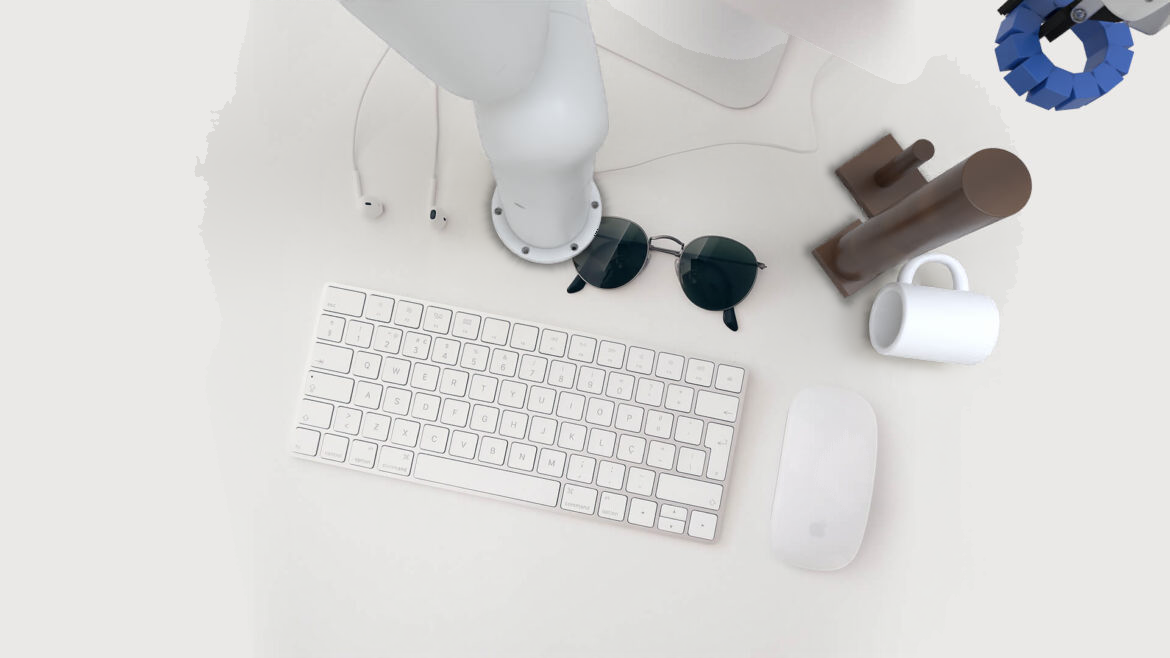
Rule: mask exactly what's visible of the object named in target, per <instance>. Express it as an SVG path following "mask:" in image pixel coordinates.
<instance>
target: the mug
mask: <svg viewBox="0 0 1170 658" xmlns="http://www.w3.org/2000/svg"><path fill="white" fill-rule="evenodd" d="M927 263H935V264H936V263H937V264H941V265H943V266H945V267H947V269H948V270H949V271H950V274H951V278H952V289H951V288H944V287H943V288H942V287H937V286H936V287H935V286H929V285H928V286H927V285H922V284H921V285H920V284H913V278H914V275H915V273H916V271H917V270H918V268H919V267H920V266H921V265H923V264H927ZM969 283H970V282H969V279H968V275H967V272H966V270H965V268H964V266H963V265H962V264H961V262H960V261H959V260H957V259H956V258H954V257H953V256H951V255H949V254H947V253H946V254H945V253H940V252H926V253H924V254H922V255H920V256H917V257H915V258H913V259H910V260H908V261H906V262H904V264H903V265H902V266H901V268H900V269H899V272H898V275H897V278H896V281H892V282H889V283H887V284H885V285H884V286H883V287H882V288H881V289H880V290H879V292H878V293H877V294H876V296H875V298H874V301H873V303H872V306H871V309H870V313H869V320H868V333H869V339H870V340H869V341H870V343H871V345H872V347H873V349H874V350H875V352H877V354H879V355H883V356H887V357H898V358H903V359H904V358H905V359H913V360H914V359H915V360H920V361H921V360H922V361H929V362H935V363H936V362H937V363H945V364H952V365H961V366H969V367H970V366H976V365H979V364H980V363H983V361H985V360H986V359H987V358H988V357H989V356H990V354H991V353H992V351H994V348H995V346H996V344H997V340H998V338H999V333H1000V313H999V310H998V307H997V305H996V303H995V301H994V300H993V299H992V298H991V297H990V296H989V295H987V294H985V293H982V292H974V291H971V290H970V284H969Z"/></svg>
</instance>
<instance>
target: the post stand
mask: <svg viewBox="0 0 1170 658" xmlns="http://www.w3.org/2000/svg"><path fill="white" fill-rule="evenodd" d="M935 152H936V147H935V145H934V144H933V142H932V141H931V140H928V139H927V138H920V139H917V140H915V141H914V142H913V143H912V144H910V145H909V146H908V147H906V148H905V149H903V148H902V146H901V145H900V144H899V142H898V141H897V140H896V138H894V136H893V135H892V133H888V134H886V135H885V136H883V137H882V138H881V139H879V140H878V141H876V142H875V143H873V144H872V145H870V146H869V147H868V148H866V149H865V150H862V152H860V153H859V154H856V156H855V157H853V158H851V159H850V160H849V161H847V162H845V163H844V164H842V165H841V166H840V167H838V168H837V169H836V170H835V171H834V174H835V175H836V176H837V177H838V178H839V180H840V181H841V183H842V184H843V185H844V187H845V188H846V189H847V190H848V192H849V193H850V195H851V196H852V197H853V198H854V200H855V201H856V202H857V204H858V205H859V207H861V209H862V211H863V212H864V213H865V214H866V216H867V217H868V219H870V218H872V217H873V216H875V215H877V214H878V213H880V212H881V211H883V210H885V209H886V208H888V207H889V206H891V205H893V204H894V203H896V202H897V201H899V200H901V199H902V198H904V197H905V196H907V195H909V194H910V193H912V192H913V191H915V190H917V189H918V188H920V187H921V186H923V185H925V184H926V183H928V182H929V181H928V180H927V179H926V177H925V176H924V175H923V174H922V172H921V171H920V169H918V168H920V167H921V166H923V165H924V164H925V163H927V162H928V161H930V160H931V159H933V157H934V156H935Z"/></svg>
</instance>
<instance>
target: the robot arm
mask: <svg viewBox="0 0 1170 658" xmlns="http://www.w3.org/2000/svg"><path fill="white" fill-rule="evenodd" d="M336 1H337V2H338V3H339V4H340V5H341V6H342V7H343V8H344V9H345V10H346V11H347V12H349V14H351V15H352V16H353V17H354V18H355V19H357V20H358V21H359V22H360V23H361V24H362V25H364V26H365V27H366V28H367V29H368V30H370V31H371V32H372V33H373V34H374V35H376V36H377V38H379V39H380V40H381V41H383V42H384V43H385V44H386V45H387V46H389V47H390V48H391V49H392V50H393V51H395V52H396V53H397V54H398V55H399V56H400V57H402V58H403V59H404V60H405V61H406V62H407V63H408V64H410V65H411V66H412V67H414V69H416V70H417V71H418V72H419V73H421V74H422V75H423V76H425V78H427V79H428V80H430V81H431V82H432V83H434V84H435V85H436V86H438V87H440V88H441V89H443V90H444V91H447V92H448V93H450V94H453V95H454V96H457V97H459V98H462V99H465V100H467V101H472V103H473V104H472V105H473V109H474V115H475V122H476V126H477V131H478V136H479V140H480V145H481V147H482V150H483V152H484V154H485V156H486V158H487V159H488V160H489V164H490V167H491V171H492V174H493V176H494V179H495V183H496V186H495V189H494V192H493V195H492V198H491V207H490V208H491V209H490V211H491V218H492V223H493V226H494V229H495V232H496V234H497V236H498V238H499V239H500V240H501V242H502V243H503V245H504V246H505V247H506V248H507V249H509V251H510V252H511V253H513V254H515V255H516V256H518V257H519V258H521V259H523V260H526V261H528V262H531V263H536V264H542V265H552V264H553V265H554V264H559V263H564V262H566V261H569V260H571V259H573V258H575V257H576V256H578V255H580V254H581V253H582V252H583V251H584V250H586V249H587V248H588V247H589V246H590V244H592V241H593V240H594V239H595V237H596V235H597V233H596V231H597V232H598V231H599V228H600V225H601V222H602V214H603V204H602V197H601V194H600V192H599V189H598V186H597V184H596V182H595V181H594V174H595V167H596V166H595V165H596V157H597V154H598V152H600V150H601V148H602V147H603V146H604V143H605V142H606V139H607V137H608V134H609V129H610V128H609V127H610V116H609V106H608V100H607V99H608V98H607V92H606V88H605V81H604V77H603V76H604V75H603V72H602V66H601V63H600V58H599V57H600V56H599V52H598V48H597V47H598V46H597V43H596V42H597V41H596V38H595V35H594V32H593V28H592V23H591V19H590V13H589V10H588V9H589V8H588V4H587V0H336ZM1022 1H1023V0H1006V1H1005V2H1004V3H1003V4H1002V5H1000V7H998V8H997V9H996V12H998V14H999V15H1000V16H1003V17H1005V16H1006V15H1007V14H1008V13H1009V12H1011V11H1012V10H1013V9H1014V8H1015V7H1016V6H1017V5H1018V4H1020V3H1021V2H1022ZM1086 20H1095V21H1104V22H1114V23H1121V22H1124V23H1126V26H1129V28H1130V29H1133V30H1135V31H1137V32H1139V33H1141V34H1144V35H1146V36H1154V35H1157V34H1158V33H1160V32H1161V31H1163V29H1165V28H1167V27H1168V26H1169V25H1170V0H1074V1H1072V2H1071V3H1070V4H1068V5H1067V6H1065V7H1064V8H1062V9H1061V10H1059V11H1058V12H1057V13H1056V14H1054V15H1053V16H1052V17H1051V18H1049V19H1048V20H1047V21H1046V22H1045V23H1042V24H1041V27H1040V30H1039V33H1038V36H1039V40H1040V41H1041V40H1042V39H1044V38H1045V39H1046V40H1047V41H1048V43H1053V42H1054V41H1055V40H1057V39H1059V37H1060V36H1062V35H1064V34H1065V33H1067V32H1068V31H1069V30H1071V29H1070V28H1072V27H1073V26H1074V25H1076V24H1077V23H1083V22H1084V21H1086ZM594 206H595V208H594ZM498 213H500V214H498ZM597 229H598V230H597ZM595 233H596V234H595ZM594 235H595V236H594ZM573 248H575V249H574V250H573ZM525 251H527V253H525Z"/></svg>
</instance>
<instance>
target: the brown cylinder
mask: <svg viewBox="0 0 1170 658" xmlns="http://www.w3.org/2000/svg"><path fill="white" fill-rule="evenodd" d="M927 182H928V183H926V184H925V185H923V186H921V187H920V188H918V189H917V190H915V191H913V192H912V193H910V194H909V195H907V196H905V197H904V198H902V199H901V200H899V201H897V202H896V203H894V204H893V205H891V206H889V207H888V208H886V209H885V210H883V211H881V212H880V213H878V214H877V215H875V216H873V217H872V218H868V219H867V220H865V221H864V222H862V220H861V219H860V218H857V220H855V221H853V222H852V223H850V224H849V225H848V226H846V227H845V228H843V229H842V230H841V231H839V232H838V233H836V234H835V235H833V236H832V237H830V238H829V239H827V240H826V241H825V242H823V243H822V244H820V245H819V246H818V247H816V248H815V249H813V250H812V251H811V254H812V256H813V257H814V258H815V260H816V261H817V262H818V264H819V265H820V267H821V268H822V269H823V271H824V272H825V273H826V275H827V276H828V278H829V279H830V280H831V281H832V283H833V284H834V286H835V287H836V288H837V290H838V291H839V292H840V294H841V295H842V296H843V297H844V298H845V299H846V298H848V297H849V298H850V297H851V296H852V295H854V294H855V293H856V292H858V291H860V290H861V289H862V288H864V287H866V285H868V284H869V283H870V282H872V281H873V280H875V279H876V278H877V277H880V275H882V274H883V273H884V272H885V271H886V272H887V270H889V269H892V268H895V267H896V266H899V265H901V264H903V263H906V262H907V261H909V260H910V259H913V258H915V257H917V256H920V255H922V254H927V253H930V252H931V251H934V250H936V249H938V248H940V247H943V246H945V245H947V244H949V243H951V242H952V243H953V242H954V241H956V240H958V239H961V238H964V237H965V236H967V235H970V234H972V233H975V232H977V231H979V230H981V229H984V228H987V227H988V226H991V225H993V224H995V223H998V222H999V221H1003V220H1004V219H1007V218H1009V217H1011V216H1013V215H1016V214H1018V213H1019V212H1021V211H1022V209H1024V208H1025V207H1026V205H1027V204H1028V202H1029V200H1030V198H1031V197H1032V191H1033V181H1032V176H1031V173H1030V170H1029V169H1028V167H1027V165H1026V164H1025V162H1024V161H1023V160H1022V159H1021V158H1020V157H1019V156H1017V154H1015V153H1013V152H1011V151H1009V150H1007V149H1004V148H998V147H988V148H983V149H980V150H978V151H976V152H974V153H973V154H971V155H969V156H968V157H966V158H965V159H963V160H961V161H960V162H958V163H956V164H955V165H953V166H952V167H950V168H949V169H947V170H945V171H944V172H942V173H940V174H939V175H938V176H936V177H934V178H932V179H931V180H930V181H927Z"/></svg>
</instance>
